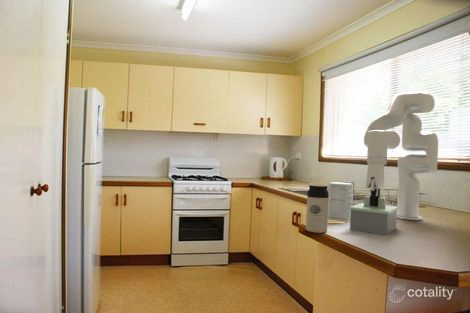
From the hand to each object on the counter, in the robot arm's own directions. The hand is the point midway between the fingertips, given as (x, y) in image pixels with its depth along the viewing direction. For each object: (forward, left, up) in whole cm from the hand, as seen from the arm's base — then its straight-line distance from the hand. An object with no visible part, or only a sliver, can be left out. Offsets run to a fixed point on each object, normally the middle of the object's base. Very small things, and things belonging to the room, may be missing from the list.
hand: (374, 205), depth 154 cm
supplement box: (-12, -18, -10) cm, 24 cm away
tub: (0, 0, -10) cm, 10 cm away
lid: (0, 0, -3) cm, 3 cm away
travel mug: (+22, -16, -10) cm, 29 cm away
